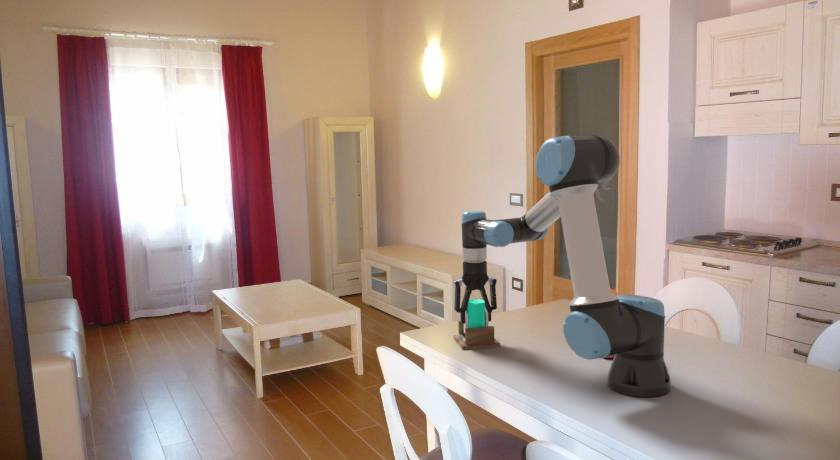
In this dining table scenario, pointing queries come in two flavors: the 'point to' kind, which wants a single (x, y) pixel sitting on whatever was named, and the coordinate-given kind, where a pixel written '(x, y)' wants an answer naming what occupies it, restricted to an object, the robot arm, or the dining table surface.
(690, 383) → the dining table surface
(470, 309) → the candle
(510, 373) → the dining table surface
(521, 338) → the dining table surface
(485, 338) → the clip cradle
